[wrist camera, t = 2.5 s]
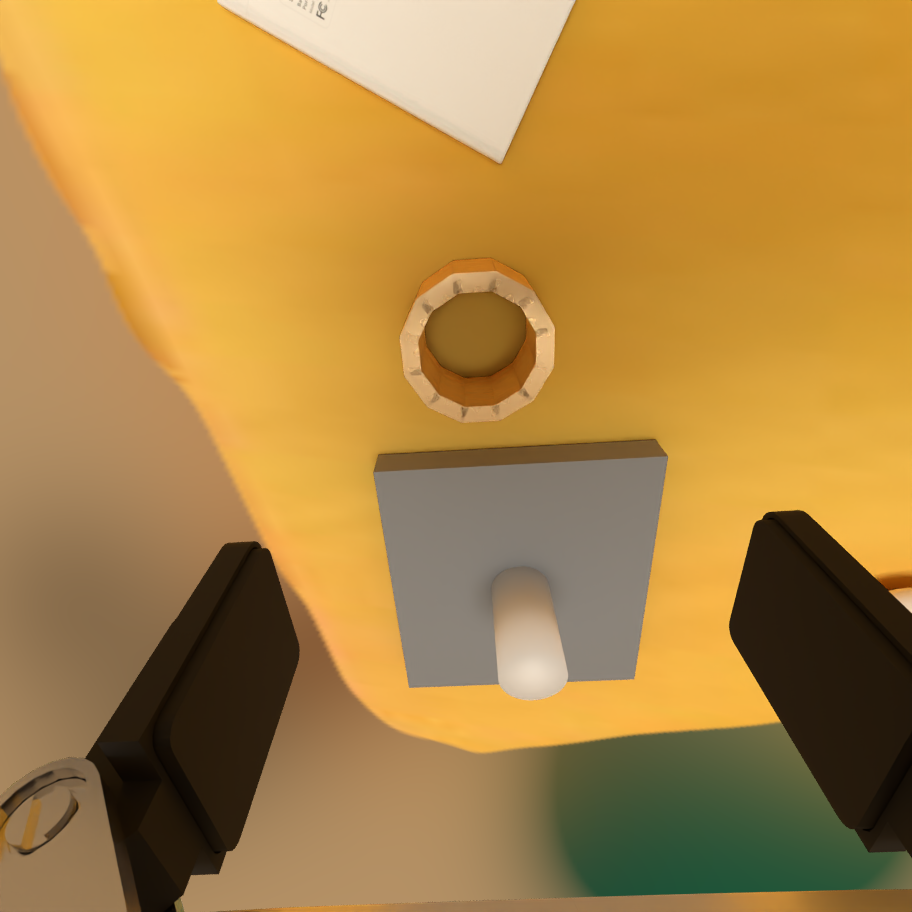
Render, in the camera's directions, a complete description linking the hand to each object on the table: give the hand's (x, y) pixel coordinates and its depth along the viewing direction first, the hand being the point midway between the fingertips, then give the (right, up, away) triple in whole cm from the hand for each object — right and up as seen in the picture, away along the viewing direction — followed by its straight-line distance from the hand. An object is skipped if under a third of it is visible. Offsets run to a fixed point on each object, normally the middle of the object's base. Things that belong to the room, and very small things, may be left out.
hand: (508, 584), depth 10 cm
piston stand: (+3, -5, +24) cm, 24 cm away
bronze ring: (0, +9, +16) cm, 19 cm away
